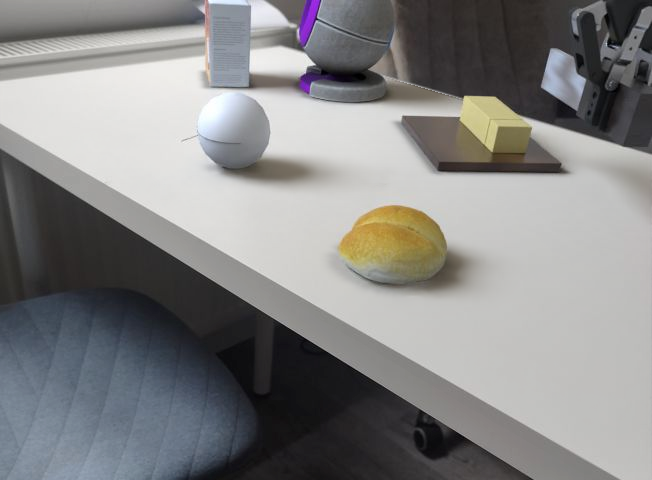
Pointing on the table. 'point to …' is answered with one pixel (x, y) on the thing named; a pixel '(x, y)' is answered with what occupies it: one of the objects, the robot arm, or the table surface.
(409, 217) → the bread roll
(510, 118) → the butter
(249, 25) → the small box
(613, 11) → the robot arm
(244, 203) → the table surface
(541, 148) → the board
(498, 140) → the butter pat
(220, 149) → the seamed sphere
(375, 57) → the webcam
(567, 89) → the knife
